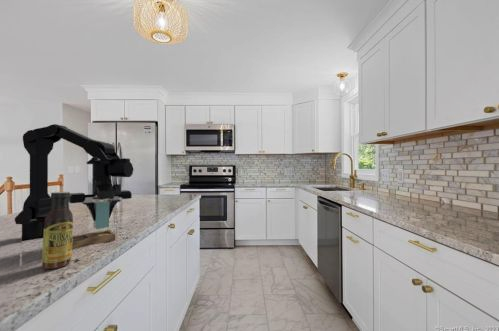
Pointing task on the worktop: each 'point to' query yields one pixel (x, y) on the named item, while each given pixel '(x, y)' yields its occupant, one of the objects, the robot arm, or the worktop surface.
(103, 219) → the plug
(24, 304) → the worktop surface
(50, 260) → the sauce bottle
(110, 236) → the socket box
